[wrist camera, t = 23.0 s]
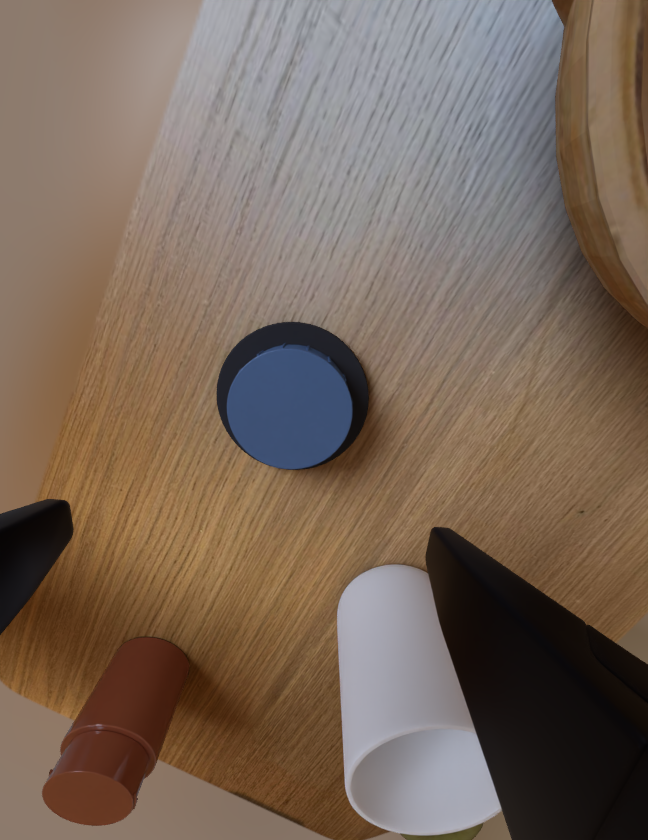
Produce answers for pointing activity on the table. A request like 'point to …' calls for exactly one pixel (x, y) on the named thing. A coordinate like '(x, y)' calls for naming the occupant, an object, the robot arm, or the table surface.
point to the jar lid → (290, 407)
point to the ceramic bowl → (606, 141)
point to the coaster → (306, 337)
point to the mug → (406, 711)
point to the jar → (118, 734)
